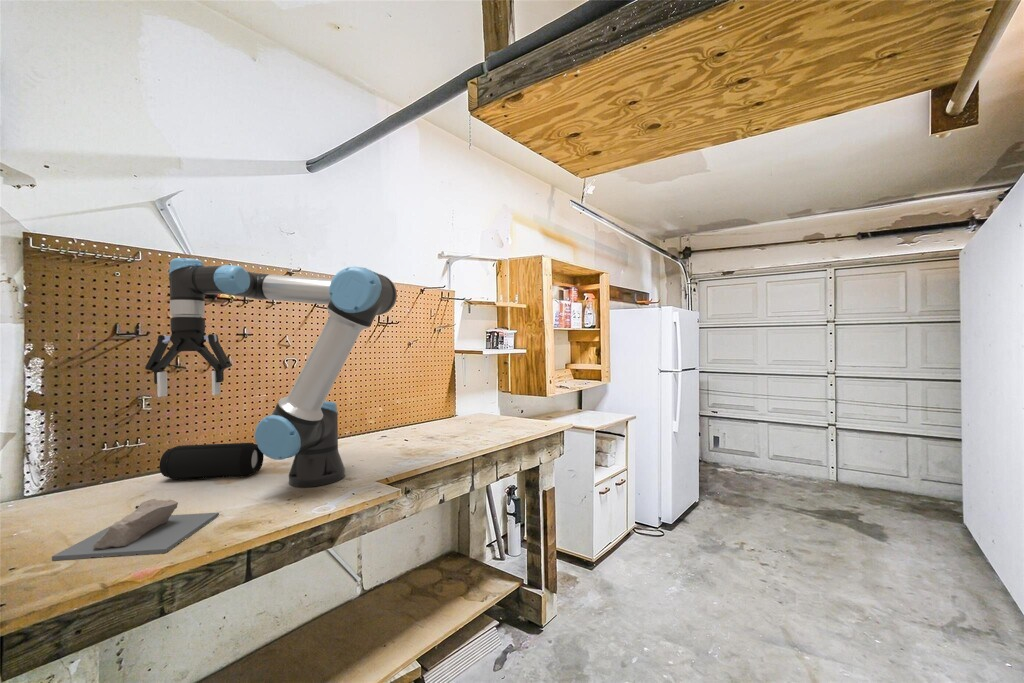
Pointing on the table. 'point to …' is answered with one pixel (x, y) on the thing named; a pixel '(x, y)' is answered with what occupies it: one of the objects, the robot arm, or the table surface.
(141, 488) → the table surface
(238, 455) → the portable speaker
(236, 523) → the table surface
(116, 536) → the concrete fragment
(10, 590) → the table surface
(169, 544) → the rubber mat
